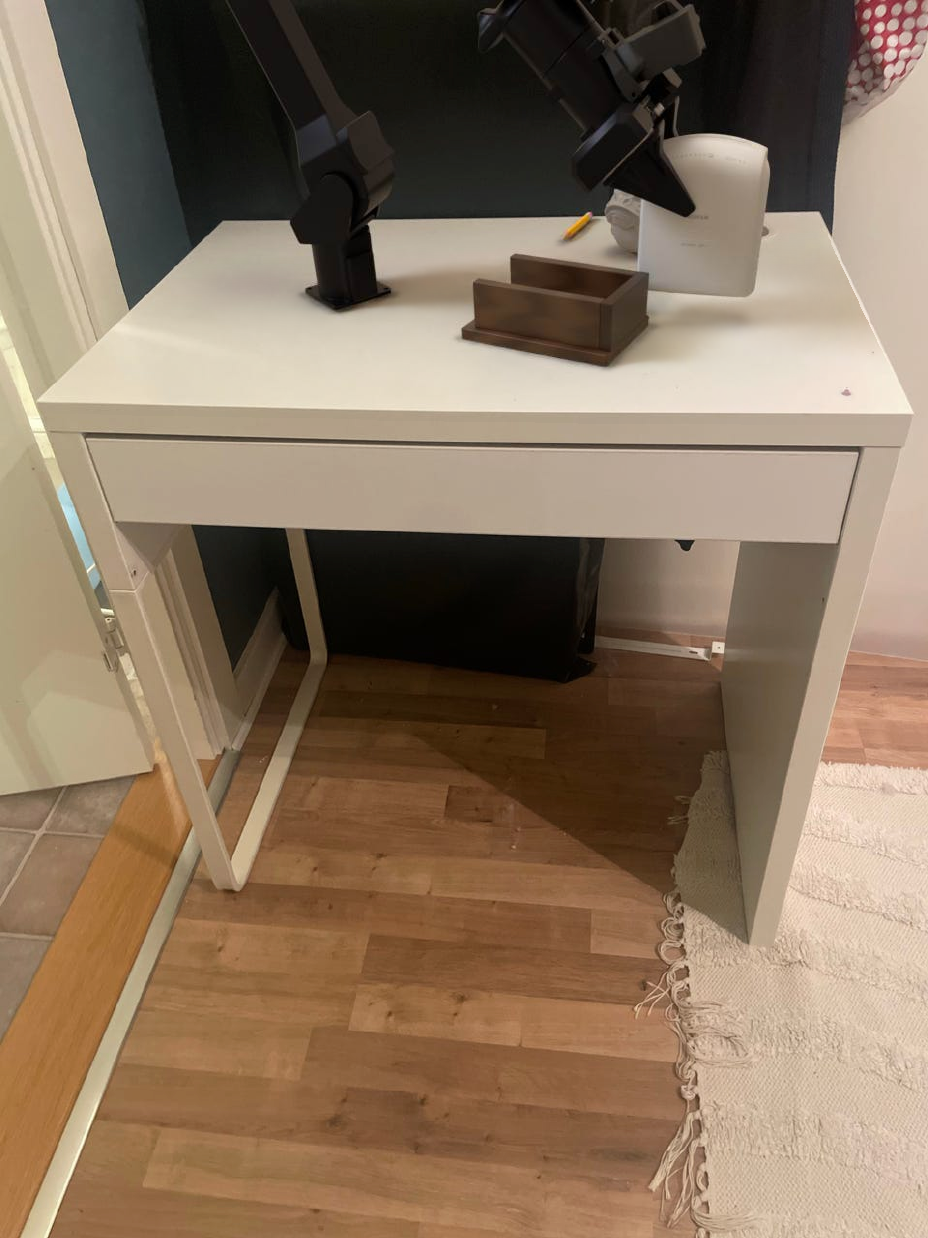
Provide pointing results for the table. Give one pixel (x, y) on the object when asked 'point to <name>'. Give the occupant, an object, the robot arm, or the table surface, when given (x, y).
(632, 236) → the frog figurine
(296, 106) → the robot arm
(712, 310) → the table surface
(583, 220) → the pencil
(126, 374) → the table surface
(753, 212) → the photo printer
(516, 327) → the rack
